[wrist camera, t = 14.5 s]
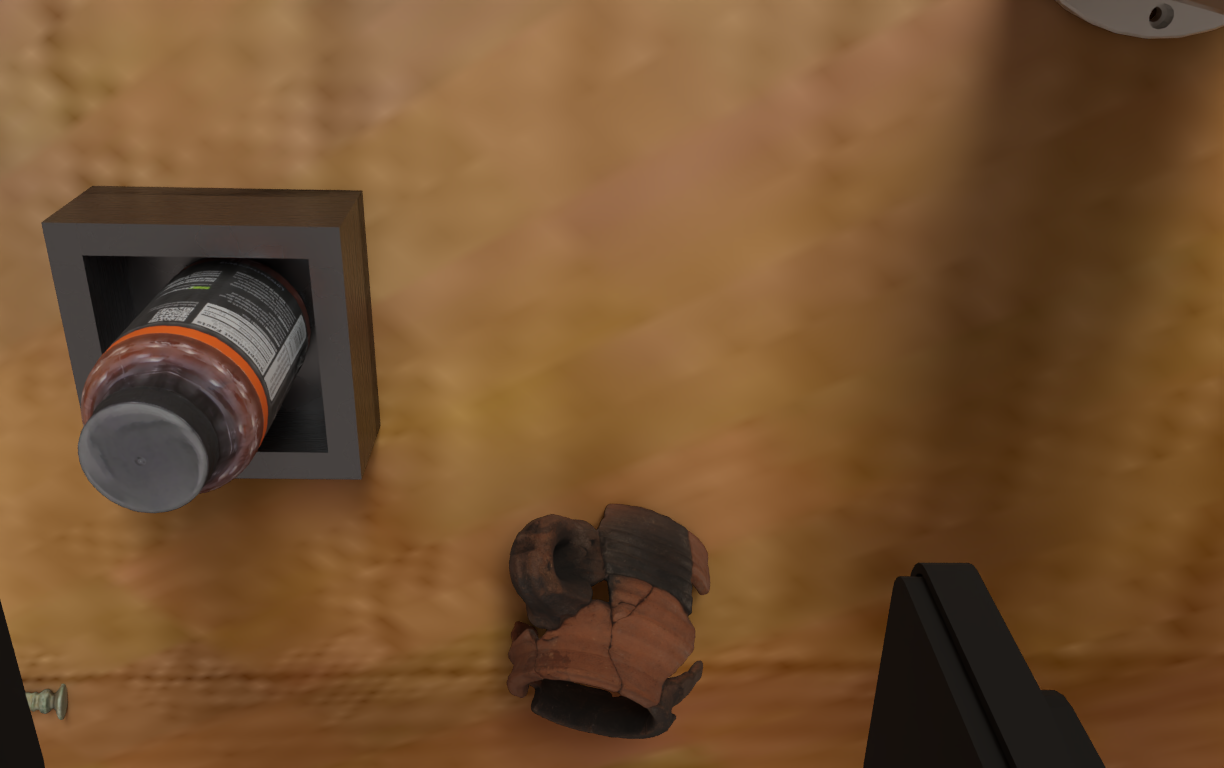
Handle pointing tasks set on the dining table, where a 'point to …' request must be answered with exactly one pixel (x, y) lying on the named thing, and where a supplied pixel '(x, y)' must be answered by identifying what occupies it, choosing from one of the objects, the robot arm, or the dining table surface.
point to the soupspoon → (49, 701)
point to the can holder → (235, 228)
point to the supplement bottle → (192, 384)
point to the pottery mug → (606, 619)
